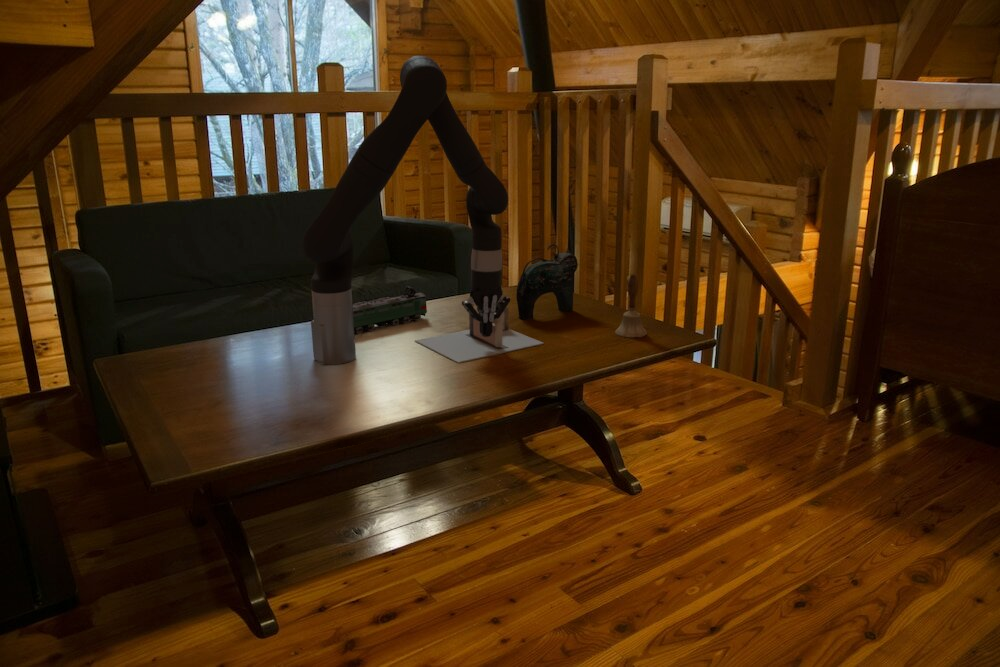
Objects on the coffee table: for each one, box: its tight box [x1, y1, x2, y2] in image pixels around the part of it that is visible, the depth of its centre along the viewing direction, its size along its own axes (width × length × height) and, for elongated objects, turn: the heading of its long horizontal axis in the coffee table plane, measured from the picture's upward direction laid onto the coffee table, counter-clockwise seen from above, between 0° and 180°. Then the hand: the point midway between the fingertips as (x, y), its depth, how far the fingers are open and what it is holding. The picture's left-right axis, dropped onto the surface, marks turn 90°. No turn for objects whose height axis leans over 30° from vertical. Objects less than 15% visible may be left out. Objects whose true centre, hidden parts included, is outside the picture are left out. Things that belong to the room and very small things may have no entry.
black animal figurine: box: [515, 243, 578, 321], centre depth 223 cm, size 20×6×20 cm, turn 124°
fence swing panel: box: [473, 319, 503, 347], centre depth 198 cm, size 12×2×6 cm, turn 32°
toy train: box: [352, 285, 428, 335], centre depth 213 cm, size 5×31×10 cm, turn 130°
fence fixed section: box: [468, 306, 510, 336], centre depth 207 cm, size 12×2×6 cm, turn 125°
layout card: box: [414, 328, 544, 364], centre depth 200 cm, size 26×21×1 cm
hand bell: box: [614, 273, 648, 339], centre depth 205 cm, size 8×8×16 cm
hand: (486, 335), depth 194 cm, fingers closed
